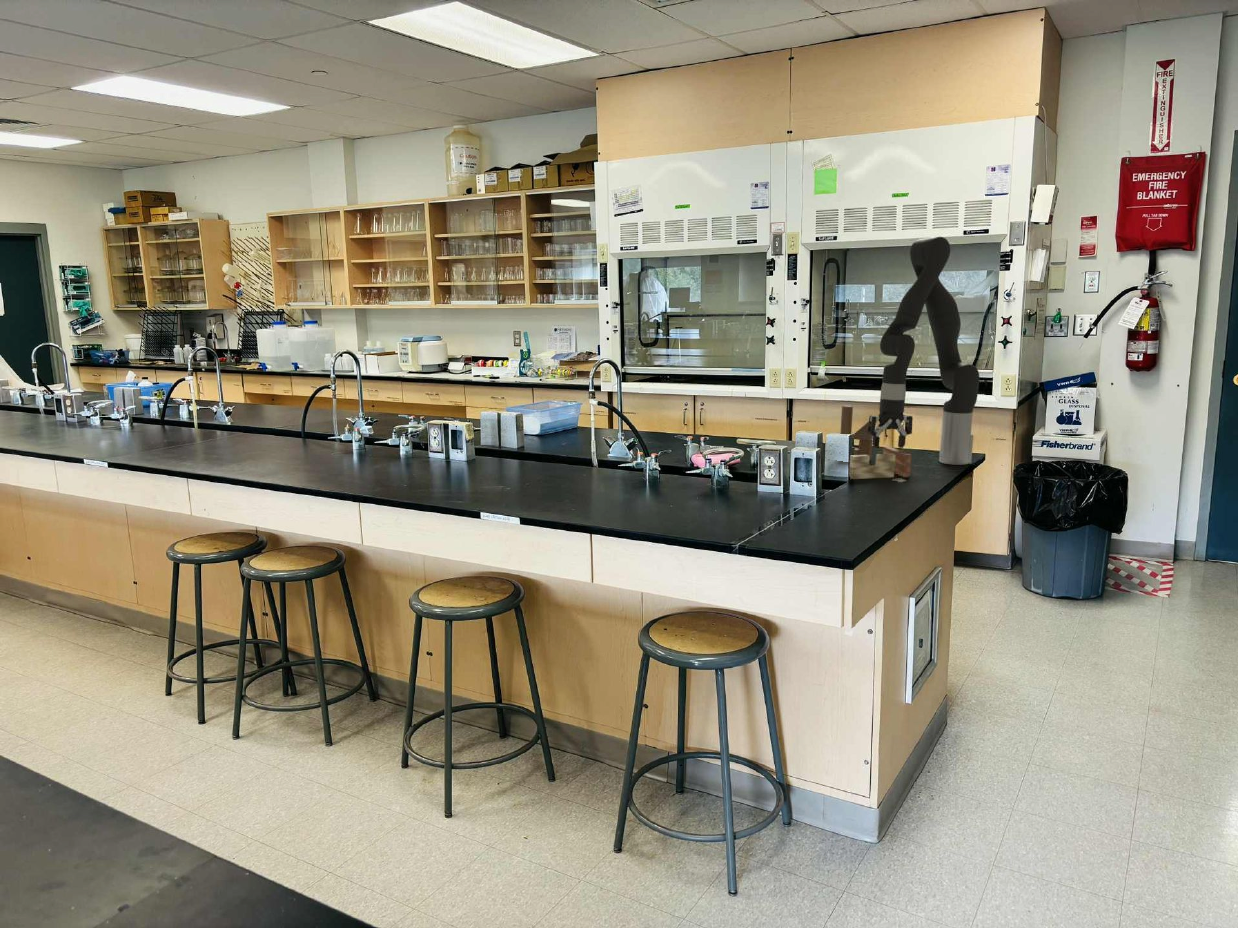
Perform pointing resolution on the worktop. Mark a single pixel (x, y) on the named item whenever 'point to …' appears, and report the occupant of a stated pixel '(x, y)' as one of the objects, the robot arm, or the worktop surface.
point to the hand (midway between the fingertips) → (888, 447)
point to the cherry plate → (900, 461)
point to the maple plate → (872, 466)
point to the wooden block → (860, 435)
